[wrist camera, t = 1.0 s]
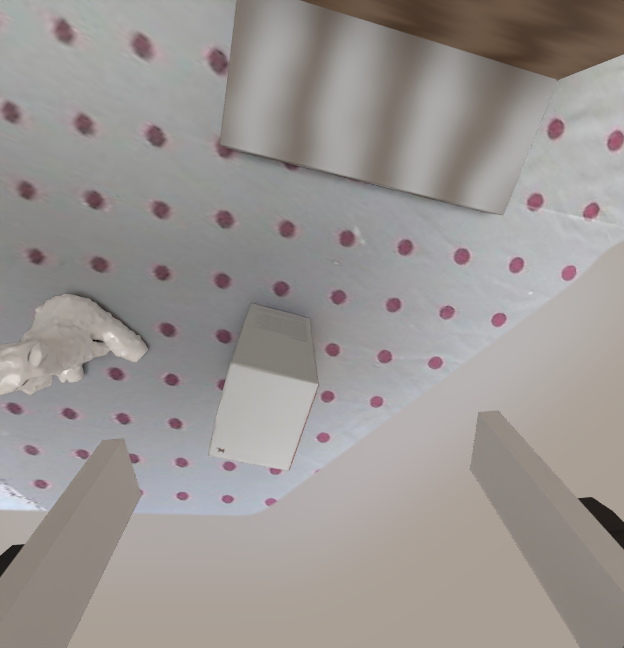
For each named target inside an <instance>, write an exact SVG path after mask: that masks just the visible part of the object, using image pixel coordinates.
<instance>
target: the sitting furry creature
mask: <svg viewBox="0 0 624 648" xmlns="http://www.w3.org/2000/svg"><path fill="white" fill-rule="evenodd" d="M35 311H36V314H35V316H34V320H35V321H34V323H33V325H31V329H30V330H29V331H27V332H26V333H24V335H23V338H22V339H21V340H20V341H19V343H8V344H2V345H0V394H1V395H5V394H7V393H12V392H15V391H18V390H22V391H23V392H24V393H26V394H27V395H32V394H34V392H35V391H38V390H40V389H42V388H47V387H49V386H51V385H52V380H53V378H52V376H53V375H57V376H58V378H59V380H60V382H65V381H66V380H67V381H68V382H76V381H79V380H81V379H82V378H83V376H84V372H83V368H82V365H83V363H85V362H87V361H90V360H92V359H93V358H94V357H99V356H100V357H101V356H103V355H107V353H108V352H110V351H112V352H113V353H114V354H115V355H116V356H117V357H122V358H124V359H127V360H129V361H132V362H137V361H138V360H139V359H140V358H141V357H142V356H143V355H144V354H145V353H146V352H147V351H148V348H147V346H146V344H145V343H144V342H143V341H142V340H141V335H136V334H135V332H133V331H131V330H130V329H128V328H127V326H125V325H123V324H122V322H121V321H120V320H117V319H115V318H114V317H112V315H111V313H109V312H105V311H104V310H103V309H102V308H101V307H100V306H98V304H97V303H96V302H92V301H91V299H89V298H84V297H79V296H76V295H71V294H63V295H61V296H54V297H53V298H52V299H48V300H46V301H45V304H44V305H40V306H38V308H36V310H35ZM93 340H100V341H98V342H96V341H93Z"/></svg>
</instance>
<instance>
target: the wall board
mask: <svg viewBox="0 0 624 648" xmlns="http://www.w3.org/2000/svg"><path fill="white" fill-rule="evenodd" d="M623 54H624V0H237V2H236V11H235V19H234V28H233V36H232V45H231V53H230V62H229V70H228V78H227V87H226V95H225V104H224V112H223V121H222V129H221V138H220V145H222V146H224V147H226V148H228V149H232V150H236V151H240V152H244V153H248V154H252V155H256V156H261V157H265V158H269V159H273V160H277V161H281V162H285V163H289V164H293V165H297V166H301V167H305V168H309V169H313V170H317V171H321V172H325V173H329V174H333V175H337V176H341V177H345V178H349V179H353V180H357V181H361V182H365V183H369V184H373V185H377V186H381V187H385V188H389V189H393V190H397V191H401V192H405V193H409V194H413V195H417V196H421V197H425V198H429V199H433V200H437V201H442V202H446V203H450V204H454V205H458V206H462V207H466V208H470V209H474V210H478V211H482V212H486V213H492V214H499V215H504V212H505V210H506V207H507V205H508V202H509V200H510V198H511V195H512V193H513V190H514V188H515V185H516V183H517V180H518V178H519V175H520V173H521V170H522V168H523V165H524V163H525V160H526V158H527V155H528V153H529V150H530V148H531V145H532V143H533V140H534V138H535V135H536V133H537V130H538V128H539V126H540V123H541V121H542V118H543V116H544V113H545V111H546V108H547V106H548V103H549V101H550V98H551V96H552V93H553V91H554V88H555V86H556V83H557V81H558V80H559V79H561V78H564V77H567V76H569V75H572V74H574V73H577V72H579V71H582V70H585V69H587V68H590V67H592V66H595V65H597V64H600V63H602V62H605V61H608V60H610V59H613V58H615V57H618V56H620V55H623Z"/></svg>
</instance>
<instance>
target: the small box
mask: <svg viewBox="0 0 624 648" xmlns="http://www.w3.org/2000/svg"><path fill="white" fill-rule="evenodd" d="M318 386H319V383H318V376H317V368H316V362H315V354H314V347H313V340H312V333H311V325H310V319H309V318H307V317H303V316H299V315H295V314H291V313H287V312H283V311H279V310H276V309H272V308H268V307H264V306H260V305H257V304H253V303H251V304H250V306H249V309H248V312H247V315H246V318H245V321H244V324H243V326H242V329H241V332H240V335H239V338H238V341H237V344H236V347H235V350H234V353H233V356H232V359H231V362H230V365H229V369H228V372H227V376H226V380H225V384H224V388H223V392H222V395H221V399H220V403H219V407H218V410H217V414H216V418H215V423H214V429H213V434H212V438H211V443H210V447H209V452H208V455H209V456H213V457H218V458H222V459H227V460H232V461H237V462H243V463H248V464H253V465H259V466H264V467H270V468H275V469H282V470H287V471H288V470H289V469H290V467H291V464H292V461H293V459H294V456H295V453H296V450H297V447H298V444H299V441H300V439H301V436H302V433H303V430H304V427H305V424H306V421H307V418H308V416H309V412H310V410H311V407H312V404H313V401H314V398H315V395H316V392H317V389H318Z"/></svg>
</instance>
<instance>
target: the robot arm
mask: <svg viewBox="0 0 624 648" xmlns="http://www.w3.org/2000/svg"><path fill="white" fill-rule="evenodd" d="M470 470H471V471H472V473H473V475H474V476H475V478H476V479H477V481H478V483H479V484H480V486H481V488H482V489H483V491H484V492H485V494H486V496H487V497H488V499H489V501H490V502H491V504H492V506H493V507H494V509H495V510H496V512H497V514H498V515H499V517H500V519H501V520H502V522H503V523H504V525H505V527H506V528H507V530H508V532H509V533H510V535H511V536H512V538H513V540H514V541H515V543H516V544H517V546H518V548H519V549H520V551H521V553H522V554H523V556H524V557H525V559H526V561H527V562H528V564H529V566H530V567H531V569H532V571H533V572H534V574H535V575H536V577H537V579H538V580H539V582H540V583H541V585H542V587H543V588H544V590H545V592H546V593H547V595H548V596H549V598H550V599H551V601H552V603H553V605H554V606H555V608H556V609H557V611H558V613H559V614H560V616H561V617H562V619H563V621H564V622H565V624H566V626H567V627H568V629H569V631H570V632H571V634H572V635H573V637H574V639H575V640H576V642H577V644H578V645H579V647H580V648H624V522H623V521H622V520H621V519H620V518H619V517H618V516H617V515H616V514H615V513H614V512H613V511H612V510H610V509H609V508H607V507H606V506H604V505H602V504H601V503H600V502H598V501H597V500H595V499H594V498H592V497H587V498H577V497H576V496H575V495H574V494H573V493H572V492H571V491H570V489H569V488H568V487H567V486H566V485H565V484H564V483H563V482H562V481H561V479H560V478H559V477H558V476H557V475H556V474H555V473H554V472H553V471H552V469H550V467H549V466H548V465H547V464H546V463H545V462H544V461H543V459H541V457H540V456H539V455H538V454H537V453H536V452H535V451H534V449H533V448H532V447H531V446H530V445H529V444H528V443H527V442H526V441H525V440H524V438H523V437H522V436H521V435H520V434H519V433H518V432H517V431H516V430H515V428H514V427H513V426H512V425H511V424H510V423H509V422H508V421H507V419H506V418H505V417H504V416H503V415H502V414H501V413H500V412H499V411H488V412H478V418H477V425H476V433H475V440H474V446H473V453H472V460H471V467H470ZM140 497H141V492H140V489H139V486H138V483H137V479H136V476H135V473H134V470H133V467H132V463H131V460H130V457H129V454H128V451H127V447H126V444H125V441H124V439H113V440H102V442H101V443H100V444H99V446H98V447H97V448H96V450H95V451H94V452H93V454H92V455H91V456H90V458H89V459H88V460H87V462H86V463H85V464H84V466H83V467H82V469H81V470H80V471H79V473H78V474H77V475H76V477H75V478H74V479H73V481H72V482H71V483H70V485H69V486H68V487H67V489H66V490H65V491H64V493H63V494H62V495H61V497H60V498H59V499H58V501H57V502H56V503H55V505H54V506H53V507H52V509H51V510H50V511H49V513H48V514H47V515H46V517H45V518H44V520H43V521H42V522H41V524H40V525H39V526H38V528H37V529H36V530H35V532H34V533H33V534H32V536H31V537H30V538H29V540H28V541H27V542H26V544H21V545H12V546H11V547H10V548H9V549H7V550H6V551H5V552H4V553H3V554H2V555H0V648H67V646H68V644H69V642H70V640H71V638H72V636H73V634H74V632H75V630H76V628H77V626H78V624H79V622H80V620H81V617H82V615H83V613H84V611H85V609H86V607H87V605H88V603H89V601H90V599H91V597H92V595H93V593H94V591H95V589H96V587H97V585H98V583H99V581H100V579H101V577H102V575H103V572H104V570H105V568H106V566H107V564H108V562H109V560H110V558H111V556H112V554H113V552H114V550H115V548H116V546H117V544H118V542H119V540H120V538H121V536H122V534H123V532H124V530H125V527H126V525H127V524H128V521H129V519H130V517H131V515H132V513H133V511H134V509H135V507H136V505H137V503H138V501H139V499H140Z"/></svg>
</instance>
